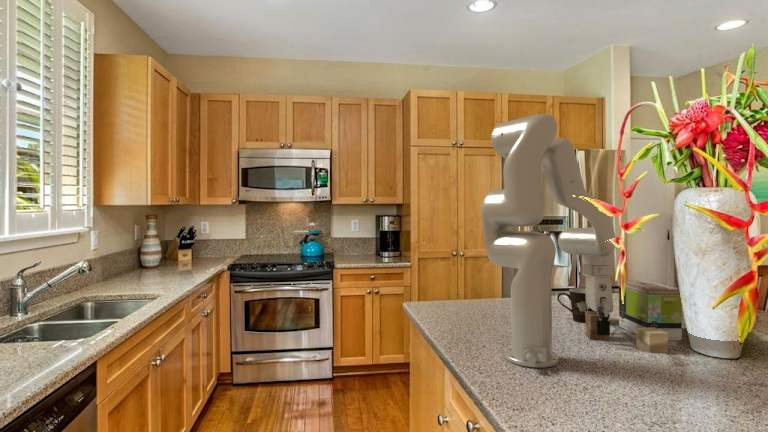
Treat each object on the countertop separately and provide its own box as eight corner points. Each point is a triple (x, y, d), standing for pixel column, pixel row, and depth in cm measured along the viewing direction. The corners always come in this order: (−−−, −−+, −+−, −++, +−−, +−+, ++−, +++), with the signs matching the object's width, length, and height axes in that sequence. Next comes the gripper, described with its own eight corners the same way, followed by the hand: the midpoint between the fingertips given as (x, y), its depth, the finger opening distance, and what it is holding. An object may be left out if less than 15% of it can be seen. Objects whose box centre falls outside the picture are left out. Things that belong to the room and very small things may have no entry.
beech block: (668, 352, 107) (667, 332, 107) (649, 352, 107) (649, 333, 107) (654, 345, 112) (654, 327, 112) (636, 346, 112) (636, 327, 112)
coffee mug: (603, 321, 137) (603, 291, 137) (589, 325, 132) (589, 294, 132) (570, 314, 146) (570, 286, 146) (555, 318, 142) (555, 289, 141)
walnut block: (609, 341, 117) (609, 316, 117) (590, 340, 118) (590, 315, 118) (604, 335, 122) (603, 311, 122) (585, 335, 123) (585, 311, 123)
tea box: (683, 341, 116) (683, 288, 116) (647, 341, 116) (646, 288, 116) (650, 326, 131) (649, 279, 131) (617, 326, 131) (617, 279, 131)
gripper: (622, 275, 110) (623, 339, 111) (601, 266, 127) (602, 322, 128) (591, 275, 112) (592, 338, 112) (575, 266, 129) (576, 321, 129)
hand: (598, 329), depth 120 cm, fingers open, 9 cm apart
